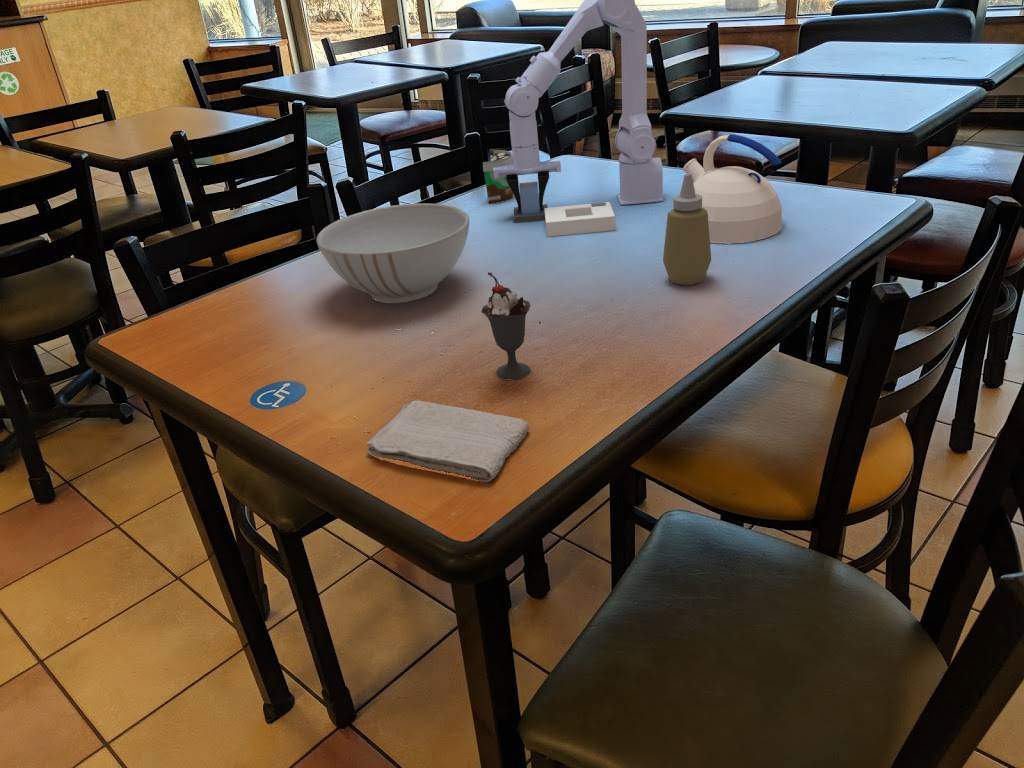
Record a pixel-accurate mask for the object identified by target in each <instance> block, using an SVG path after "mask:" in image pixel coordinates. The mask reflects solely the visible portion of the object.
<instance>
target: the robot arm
mask: <svg viewBox="0 0 1024 768" xmlns="http://www.w3.org/2000/svg"><path fill="white" fill-rule="evenodd" d="M604 24H606V25H608V26H610V28H612V29H613V30H614V31H615V32H616V33H617V34H619V35H620V45H621V46H620V52H621V58H620V59H621V111H622V114H621V116H620V118H619V121H618V130H617V132H616V135H615V138H614V139H615V140H614V143H615V146H616V149H617V150H618V151H619V153H620V155H619V157H618V164H619V165H618V166H619V168H618V170H619V171H618V172H619V173H618V175H619V193H616V197H617V199H618V202H619V204H620V206H626V205H636V204H637V205H638V204H646V203H659V202H663V201H664V192H663V191H664V190H663V187H664V186H663V185H664V183H663V182H664V179H663V178H664V177H663V172H664V171H663V163H662V159H661V157H653V155H654V153H655V151H656V147H657V145H656V139H655V138H654V136H653V132H652V131H653V130H652V124H651V122H650V119H649V117H648V116H649V115H648V114H647V113H648V112H647V111H648V110H647V109H648V105H647V104H648V103H647V101H648V99H647V96H648V95H647V94H648V93H647V92H648V90H647V88H648V87H647V85H648V82H647V81H648V80H647V79H648V76H647V75H648V73H647V68H648V67H647V66H648V65H647V64H648V62H647V61H648V59H647V56H648V54H647V53H648V50H647V48H648V45H647V44H648V43H647V39H648V37H647V33H648V32H647V30H648V28H647V27H648V26H647V22H646V20H645V18H644V17H643V14H642V13H641V11H640V10H639V8H638V6H637V4H636V1H635V0H583V1H582V2H581V4H580V5H579V7H578V8H577V10H576V11H575V13H574V14H573V15H572V17H571V18H570V20H569V21H568V23H567V24H566V25H565V27H564V29H563V30H562V31H561V33H560V34H559V35H558V37H557V38H556V39H555V41H554V42H553V44H552V46H551V47H550V48H549V50H548V51H544V52H538V54H537V55H536V56H535V55H532V57H531V58H530V59H529V62H530V64H529V66H528V67H527V68H526V69H525V70H524V72H523V73H522V75H521V76H517V77H516V78H515V82H516V83H517V84H514V85H513V84H512V85H511V86H510V87H509V88H508V90H507V91H506V93H505V99H503V102H504V105H505V106H506V108H507V110H508V117H509V134H510V144H511V153H512V155H513V164H512V165H507V166H501V167H494V168H493V172H494V178H499V177H506V179H507V183H508V185H509V187H510V188H511V190H512V192H513V197H514V198H515V200H516V204H517V207H518V209H521V199H520V188H519V182H520V181H519V176H526V175H535V174H536V175H537V182H538V193H539V205H540V207H543V205H544V204H543V203H544V197H545V191H546V188H547V185H548V183H549V179H550V173H562V166H561V165H562V163H561V161H560V160H557V161H553V160H552V161H551V160H549V161H540V149H539V146H540V145H539V137H538V135H539V134H538V124H537V120H536V111H537V109H538V106H539V98H542V96H543V95H544V93H545V92H546V91H547V90H548V88H550V86H551V85H552V83H553V82H554V81H555V80H556V79H557V77H558V76H559V75H560V73H561V63H562V62H563V60H564V59H565V57H567V55H568V54H569V53H570V52H571V50H573V48H574V47H575V46H576V44H577V43H578V42H579V41H580V40H581V39H582V37H584V35H585V34H586V33H587V32H588V31H590V30H593V29H594V30H595V29H597V28H600V27H604Z"/></svg>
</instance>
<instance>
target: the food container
mask: <svg viewBox="0 0 1024 768" xmlns="http://www.w3.org/2000/svg"><path fill="white" fill-rule="evenodd" d="M512 164H513V155H512V151H508V150H501V149H495V150H494V149H493V155H492V156H491V157H489V158H488V160H487V161H483V162H482V171H483V172H482V173H484V182H485V189H486V194H487V195H486V196H487V202H488V204H498V203H503V202H507V201H509V200H511V199H513V198H514V194H513V192H512V190H511V188H510V187H509V185H508V183H507V179H506V177H499V178H494V172H493V168H494V167H501V166H507V165H512ZM506 200H507V201H506ZM502 201H503V202H502ZM497 202H498V203H497Z"/></svg>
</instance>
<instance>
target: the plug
mask: <svg viewBox="0 0 1024 768" xmlns="http://www.w3.org/2000/svg"><path fill="white" fill-rule="evenodd" d="M519 192H520V199H521V210H522V213H521V215H532V214H541V211H540V205H539V185H538V181H531V182H520V183H519Z"/></svg>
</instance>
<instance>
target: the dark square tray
mask: <svg viewBox="0 0 1024 768" xmlns="http://www.w3.org/2000/svg"><path fill="white" fill-rule="evenodd" d="M544 208H549V207H548V203H546V204H543V207H540V212H542V213H540V214H532V215H522V210H521V209H518V206H515V207H514V206H513V223H514V224H516V223H517V224H519V223H526V222H530V223H531V222H538V221H539V222H540V221H545V210H544ZM519 214H521V215H519Z"/></svg>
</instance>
